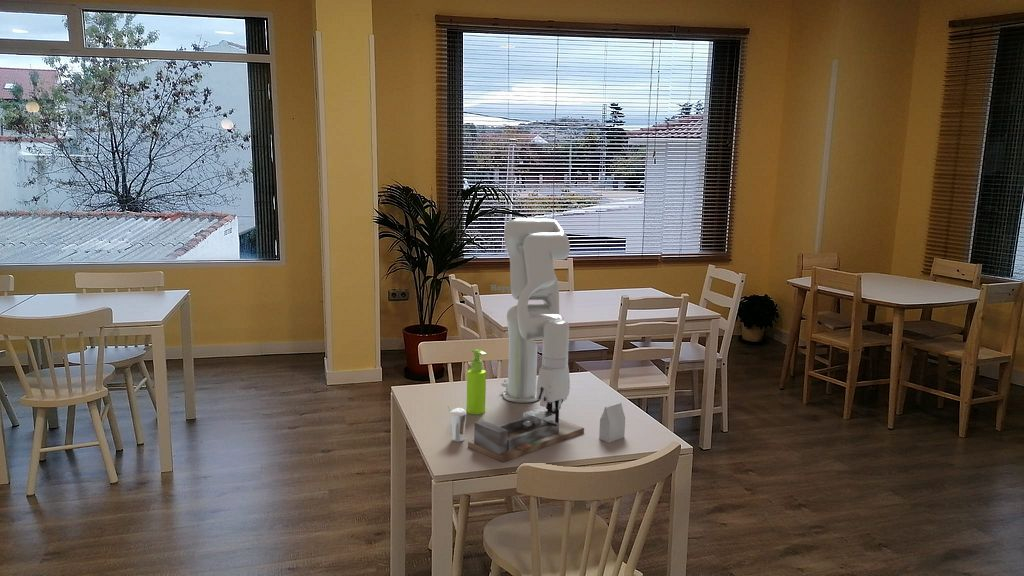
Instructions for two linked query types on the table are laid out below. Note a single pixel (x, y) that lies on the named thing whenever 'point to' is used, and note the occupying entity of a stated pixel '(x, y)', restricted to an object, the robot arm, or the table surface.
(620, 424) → the tea bag
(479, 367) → the soap dispenser
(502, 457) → the gauge bench
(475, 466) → the table surface
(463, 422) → the milkshake
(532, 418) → the slider
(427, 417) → the table surface
